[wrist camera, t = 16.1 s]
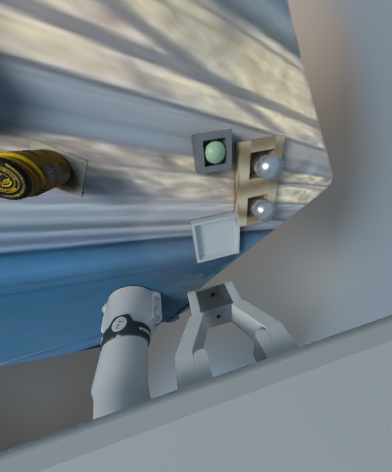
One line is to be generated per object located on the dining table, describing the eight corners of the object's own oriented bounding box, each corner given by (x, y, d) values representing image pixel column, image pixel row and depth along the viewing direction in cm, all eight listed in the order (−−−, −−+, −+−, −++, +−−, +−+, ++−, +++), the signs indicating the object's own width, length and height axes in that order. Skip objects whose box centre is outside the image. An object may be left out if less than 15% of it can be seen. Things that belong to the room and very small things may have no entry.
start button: (220, 160, 34) (225, 161, 31) (203, 163, 34) (207, 165, 31) (219, 140, 32) (225, 140, 29) (201, 142, 31) (205, 143, 29)
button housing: (224, 166, 36) (231, 168, 33) (195, 171, 35) (199, 174, 32) (224, 130, 33) (231, 128, 29) (191, 134, 32) (195, 134, 28)
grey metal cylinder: (264, 170, 38) (283, 177, 33) (247, 175, 38) (263, 182, 32) (264, 151, 36) (285, 153, 30) (246, 156, 36) (263, 160, 30)
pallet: (265, 215, 46) (272, 219, 44) (234, 222, 45) (238, 227, 42) (276, 135, 35) (285, 135, 33) (235, 142, 34) (241, 142, 32)
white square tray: (235, 248, 50) (239, 252, 48) (196, 257, 49) (197, 263, 47) (236, 210, 43) (240, 213, 41) (189, 220, 41) (191, 224, 39)
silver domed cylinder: (259, 209, 44) (275, 219, 38) (244, 212, 43) (258, 223, 37) (260, 193, 41) (277, 202, 36) (245, 197, 41) (260, 206, 35)
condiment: (30, 138, 27) (-44, 136, 17) (87, 161, 30) (54, 171, 20) (30, 179, 30) (-34, 198, 20) (82, 195, 33) (50, 219, 23)
